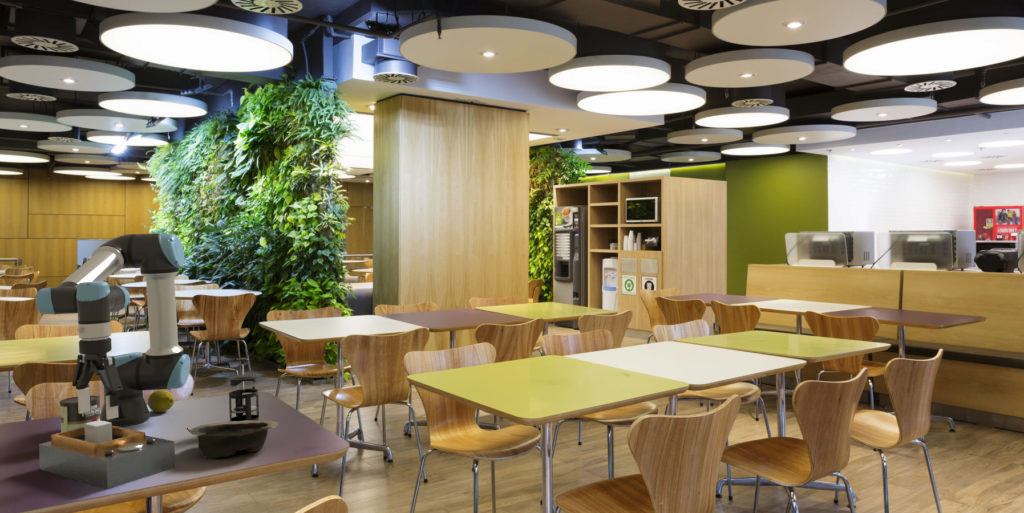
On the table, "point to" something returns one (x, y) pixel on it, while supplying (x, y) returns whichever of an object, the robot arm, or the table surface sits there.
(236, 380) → the french press
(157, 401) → the lemon
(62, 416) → the coffee can
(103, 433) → the skincare box
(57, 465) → the grey open box
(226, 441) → the stone bowl
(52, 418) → the table surface
